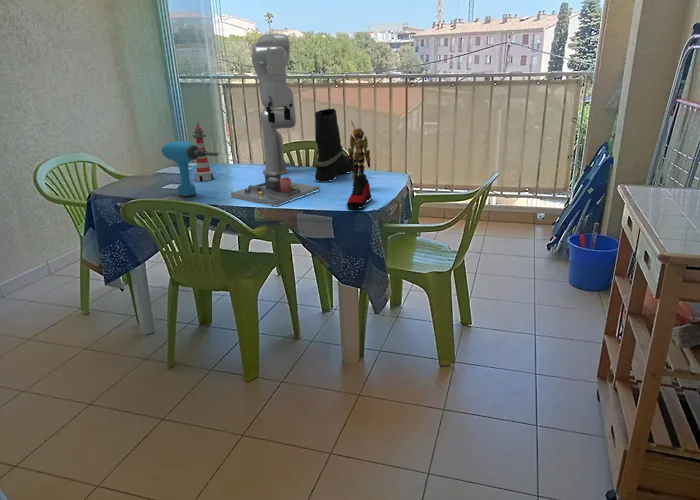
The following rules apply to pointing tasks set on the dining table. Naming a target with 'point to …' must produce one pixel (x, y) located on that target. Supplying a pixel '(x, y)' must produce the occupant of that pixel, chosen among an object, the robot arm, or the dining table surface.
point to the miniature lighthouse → (202, 158)
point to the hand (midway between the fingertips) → (279, 121)
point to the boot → (329, 147)
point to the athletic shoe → (359, 192)
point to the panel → (272, 193)
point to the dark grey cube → (272, 175)
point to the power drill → (184, 162)
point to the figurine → (358, 152)
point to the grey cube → (273, 183)
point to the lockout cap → (285, 185)
